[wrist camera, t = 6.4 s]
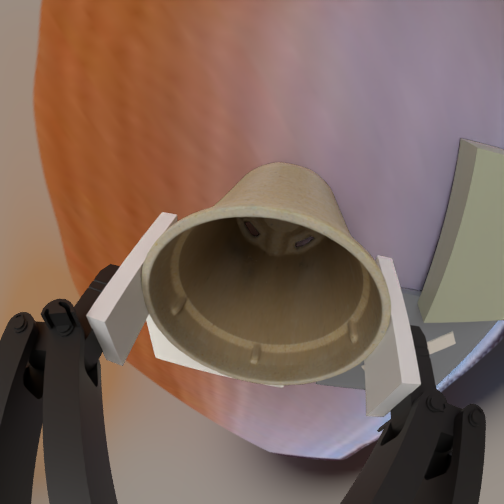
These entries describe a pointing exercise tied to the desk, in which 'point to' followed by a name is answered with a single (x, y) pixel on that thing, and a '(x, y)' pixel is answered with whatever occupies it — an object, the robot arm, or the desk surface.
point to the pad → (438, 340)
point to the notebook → (470, 243)
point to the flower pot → (268, 283)
